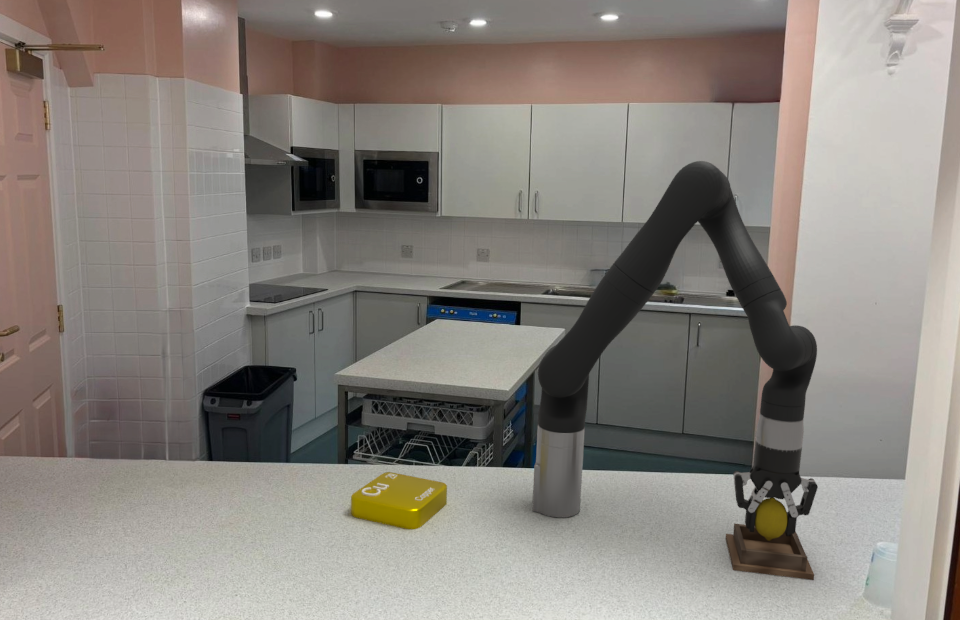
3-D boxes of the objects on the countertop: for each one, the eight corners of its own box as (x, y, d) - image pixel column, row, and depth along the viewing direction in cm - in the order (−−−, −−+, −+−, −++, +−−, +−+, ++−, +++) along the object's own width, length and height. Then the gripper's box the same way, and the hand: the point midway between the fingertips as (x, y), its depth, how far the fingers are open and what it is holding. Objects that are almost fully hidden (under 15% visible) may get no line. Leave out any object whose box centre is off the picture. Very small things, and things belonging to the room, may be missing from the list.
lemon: (787, 549, 133) (792, 505, 132) (754, 545, 134) (758, 502, 133) (782, 535, 138) (786, 492, 137) (749, 531, 139) (753, 489, 138)
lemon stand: (733, 570, 132) (734, 551, 131) (725, 538, 144) (727, 521, 143) (813, 580, 130) (815, 560, 129) (799, 547, 141) (801, 529, 141)
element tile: (416, 533, 143) (416, 509, 142) (346, 517, 149) (346, 494, 148) (450, 503, 157) (450, 480, 156) (385, 489, 162) (385, 468, 161)
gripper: (738, 444, 131) (729, 537, 134) (828, 452, 128) (817, 547, 131) (732, 430, 138) (724, 518, 141) (818, 438, 135) (808, 528, 138)
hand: (769, 532), depth 136 cm, fingers closed on lemon, 5 cm apart
